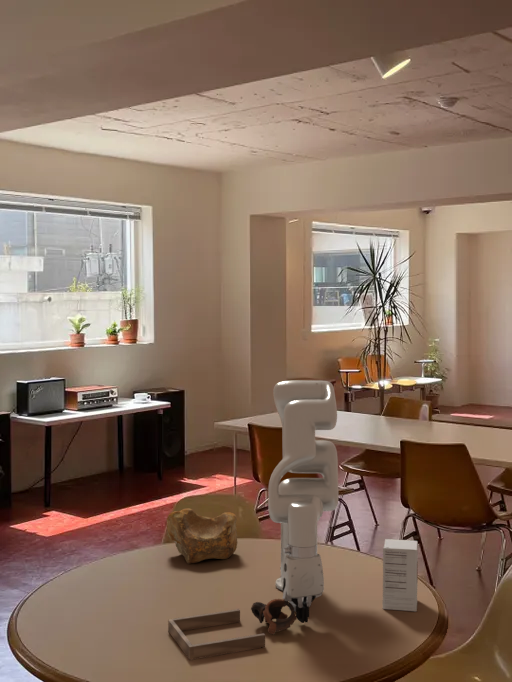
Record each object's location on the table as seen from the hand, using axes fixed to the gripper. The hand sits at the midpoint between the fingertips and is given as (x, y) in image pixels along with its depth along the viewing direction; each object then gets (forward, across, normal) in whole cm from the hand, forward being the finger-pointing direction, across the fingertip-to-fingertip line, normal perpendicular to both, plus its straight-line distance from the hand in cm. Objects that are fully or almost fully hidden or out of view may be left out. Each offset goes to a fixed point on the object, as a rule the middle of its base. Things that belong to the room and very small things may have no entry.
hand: (302, 620), depth 216 cm
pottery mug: (+1, -8, +1) cm, 8 cm away
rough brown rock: (+1, -6, +62) cm, 62 cm away
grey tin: (+1, +4, +11) cm, 12 cm away
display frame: (+1, -23, 0) cm, 23 cm away
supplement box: (+1, +31, +3) cm, 31 cm away
